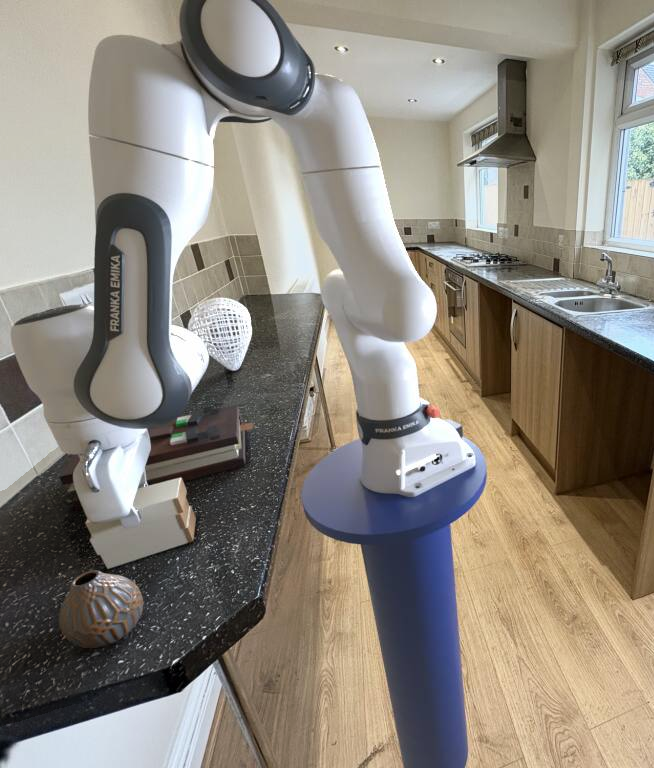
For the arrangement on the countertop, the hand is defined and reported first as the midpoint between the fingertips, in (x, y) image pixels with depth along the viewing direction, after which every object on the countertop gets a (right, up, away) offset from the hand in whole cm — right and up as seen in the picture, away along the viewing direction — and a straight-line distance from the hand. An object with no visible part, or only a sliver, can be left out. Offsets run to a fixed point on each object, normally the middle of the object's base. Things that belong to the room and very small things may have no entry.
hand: (138, 508), depth 61 cm
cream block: (0, -1, +1) cm, 1 cm away
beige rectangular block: (0, -6, +3) cm, 7 cm away
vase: (+7, -12, -11) cm, 17 cm away
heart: (-35, +23, +72) cm, 83 cm away
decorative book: (-14, +2, +23) cm, 26 cm away
